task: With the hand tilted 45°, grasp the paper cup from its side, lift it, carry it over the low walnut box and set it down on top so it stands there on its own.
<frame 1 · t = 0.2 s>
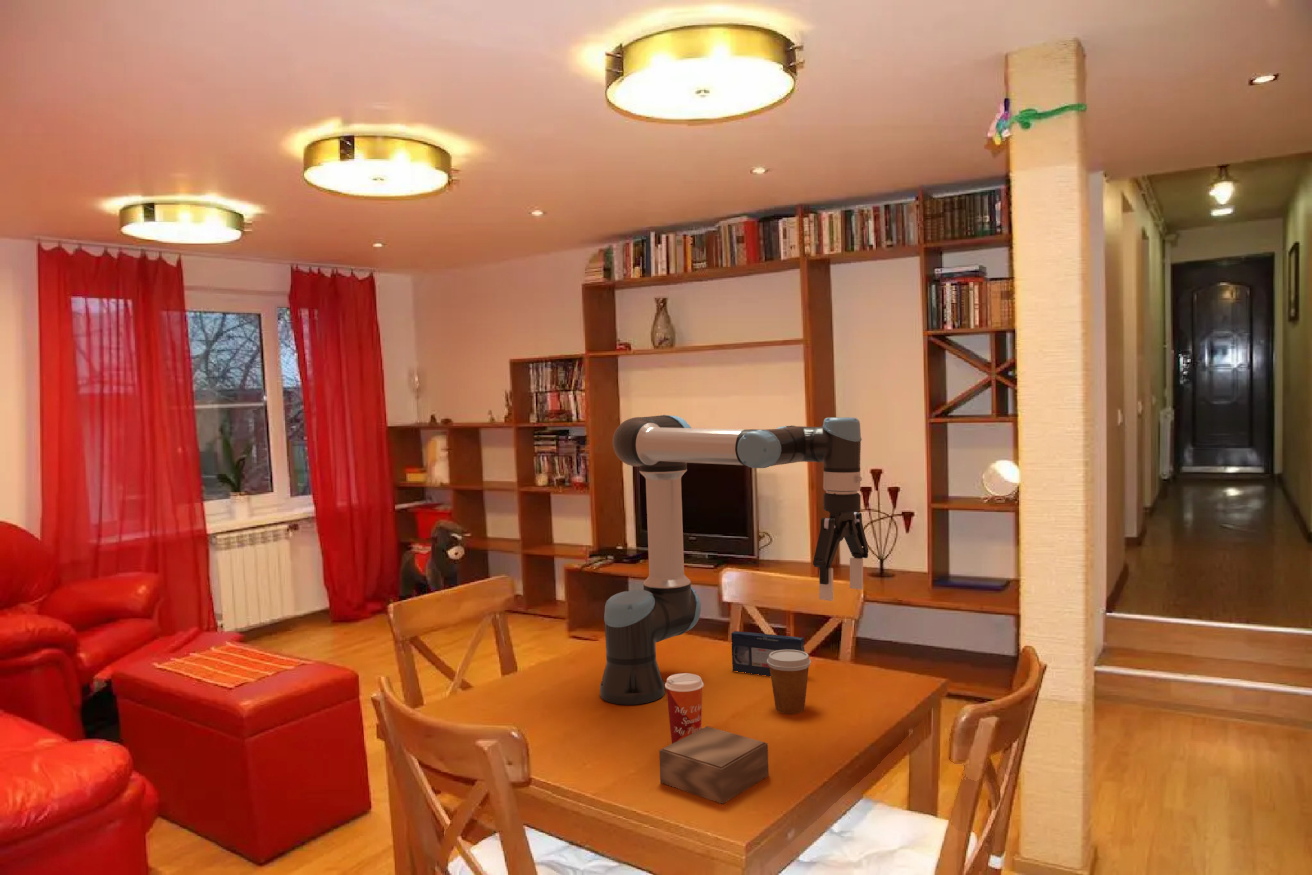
hand: (841, 594, 185), 27 cm above the table, tool pointing down, fingers open, 13 cm apart
vhs cassette tape: (768, 675, 219), on the table
walnut box: (714, 779, 162), on the table
paper cup: (686, 748, 176), on the table
disposable coffee cup: (790, 709, 195), on the table
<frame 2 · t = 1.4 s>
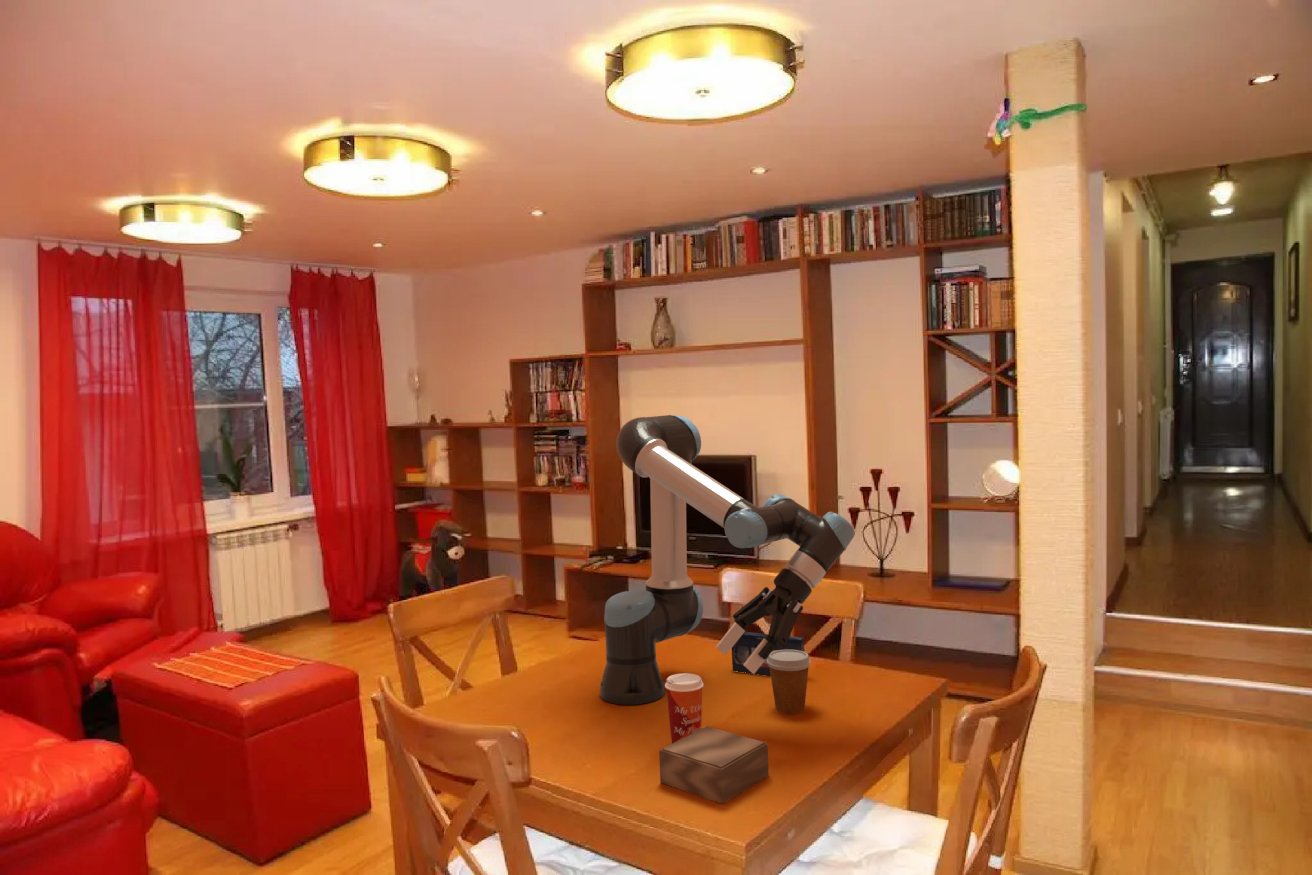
hand: (733, 660, 179), 16 cm above the table, tool tilted 45°, fingers open, 13 cm apart
nothing on the table moved.
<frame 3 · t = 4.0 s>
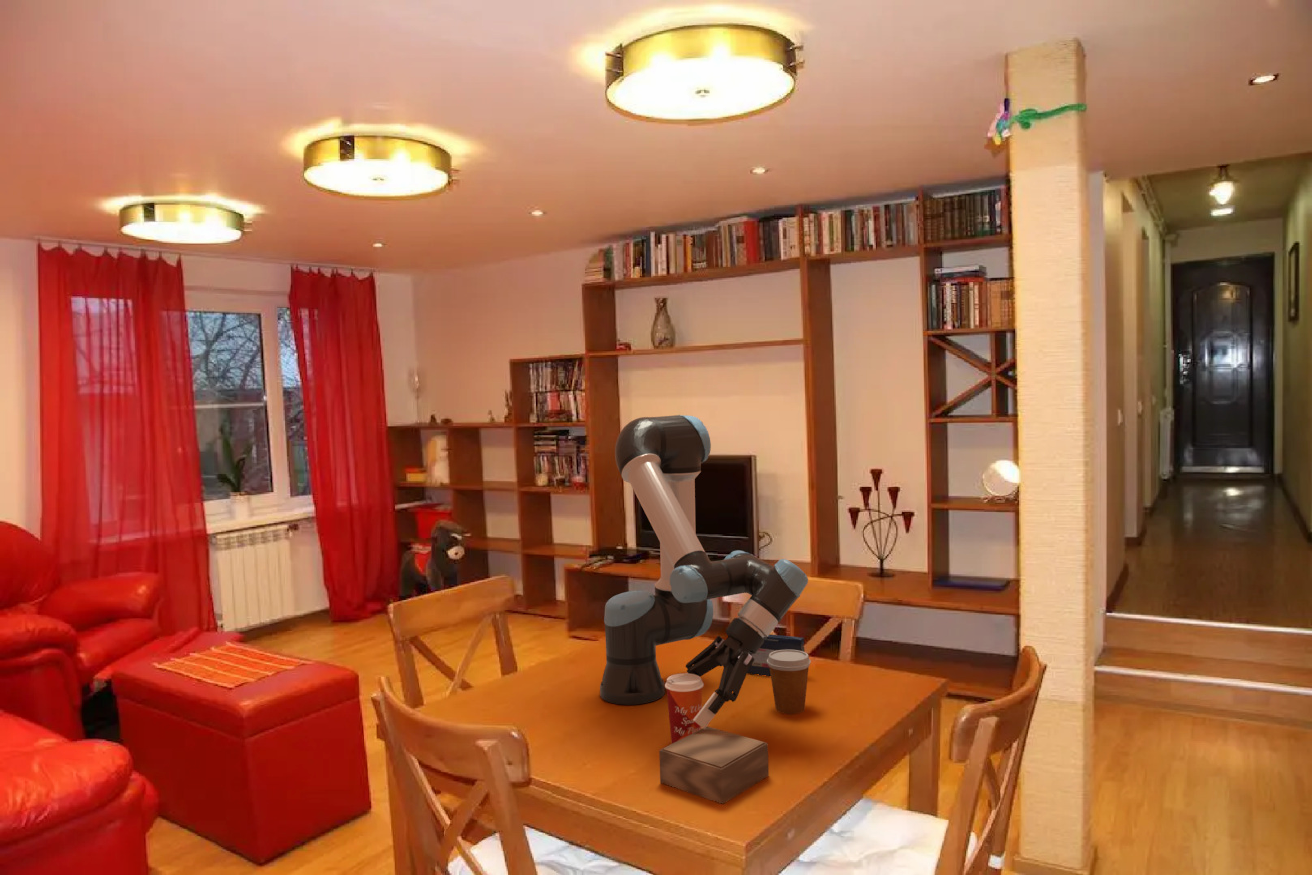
hand: (684, 713, 175), 7 cm above the table, tool tilted 45°, fingers open, 13 cm apart
nothing on the table moved.
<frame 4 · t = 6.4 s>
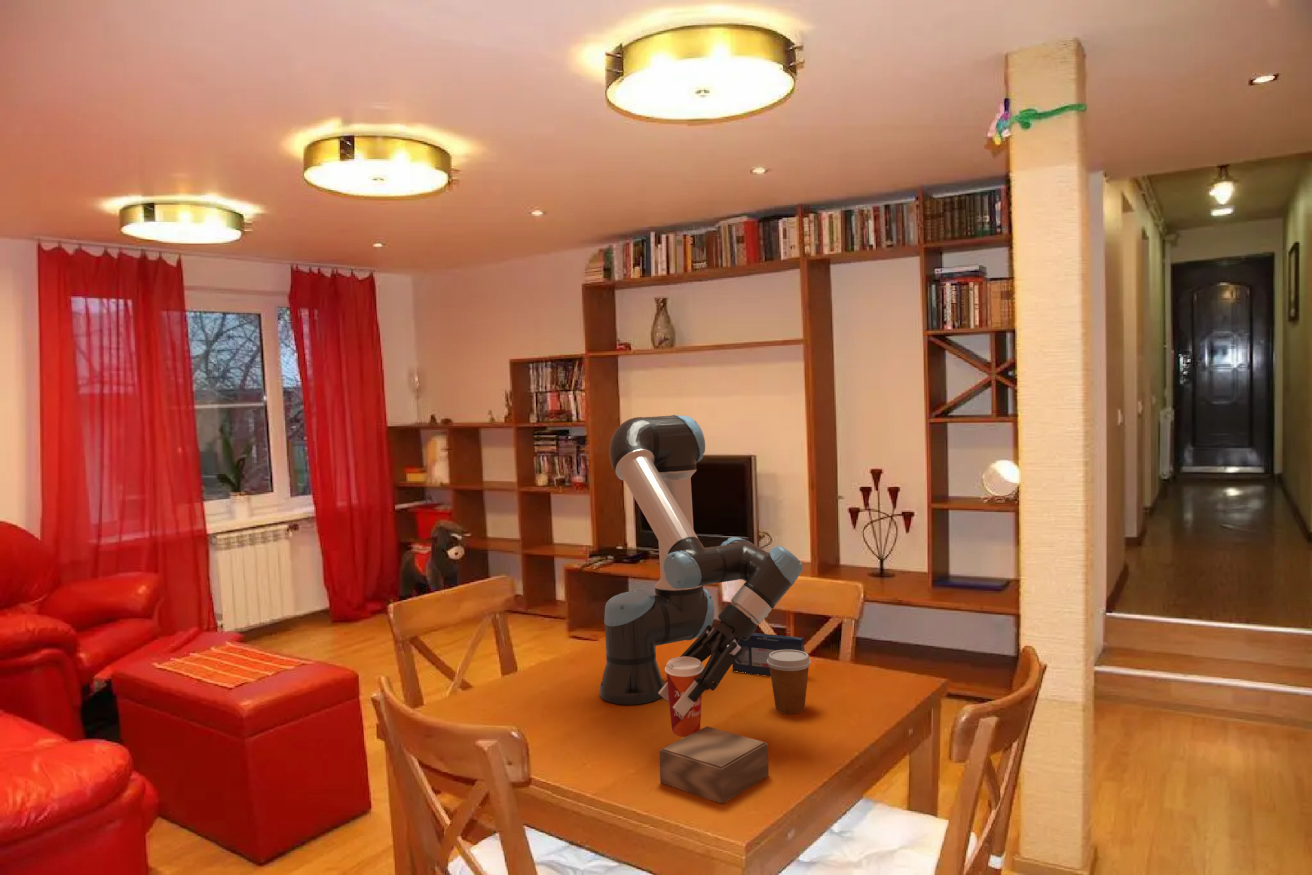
hand: (670, 704, 174), 9 cm above the table, tool tilted 45°, fingers closed on paper cup, 8 cm apart
paper cup: (686, 731, 176), point 3 cm above the table, touching gripper
everything else where it was.
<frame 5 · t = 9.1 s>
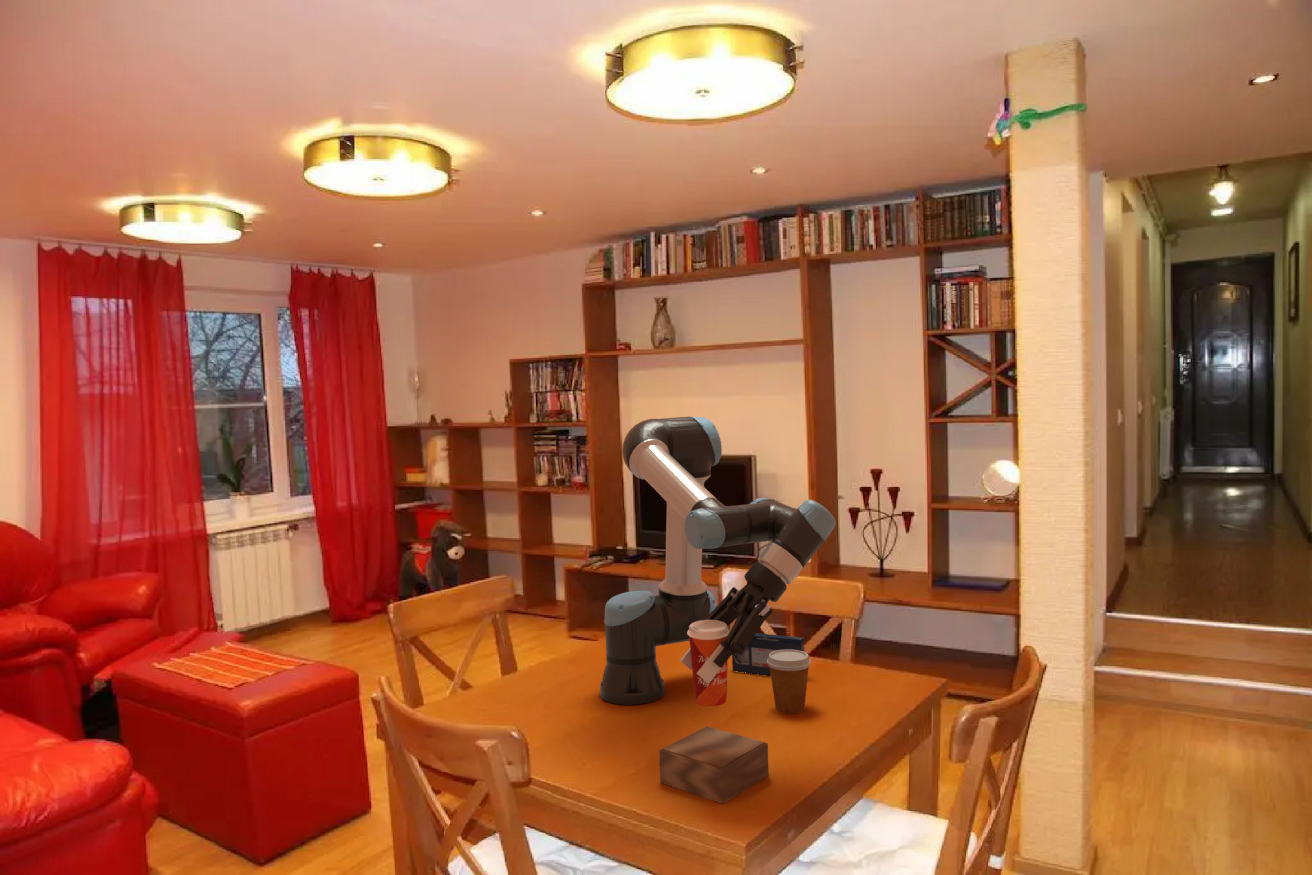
hand: (693, 671, 159), 20 cm above the table, tool tilted 45°, fingers closed on paper cup, 8 cm apart
paper cup: (711, 701, 161), point 14 cm above the table, touching gripper
everything else where it was.
when the fingers open (12 cm above the table, at t = 12.3 s): paper cup stays where it is, resting on walnut box.
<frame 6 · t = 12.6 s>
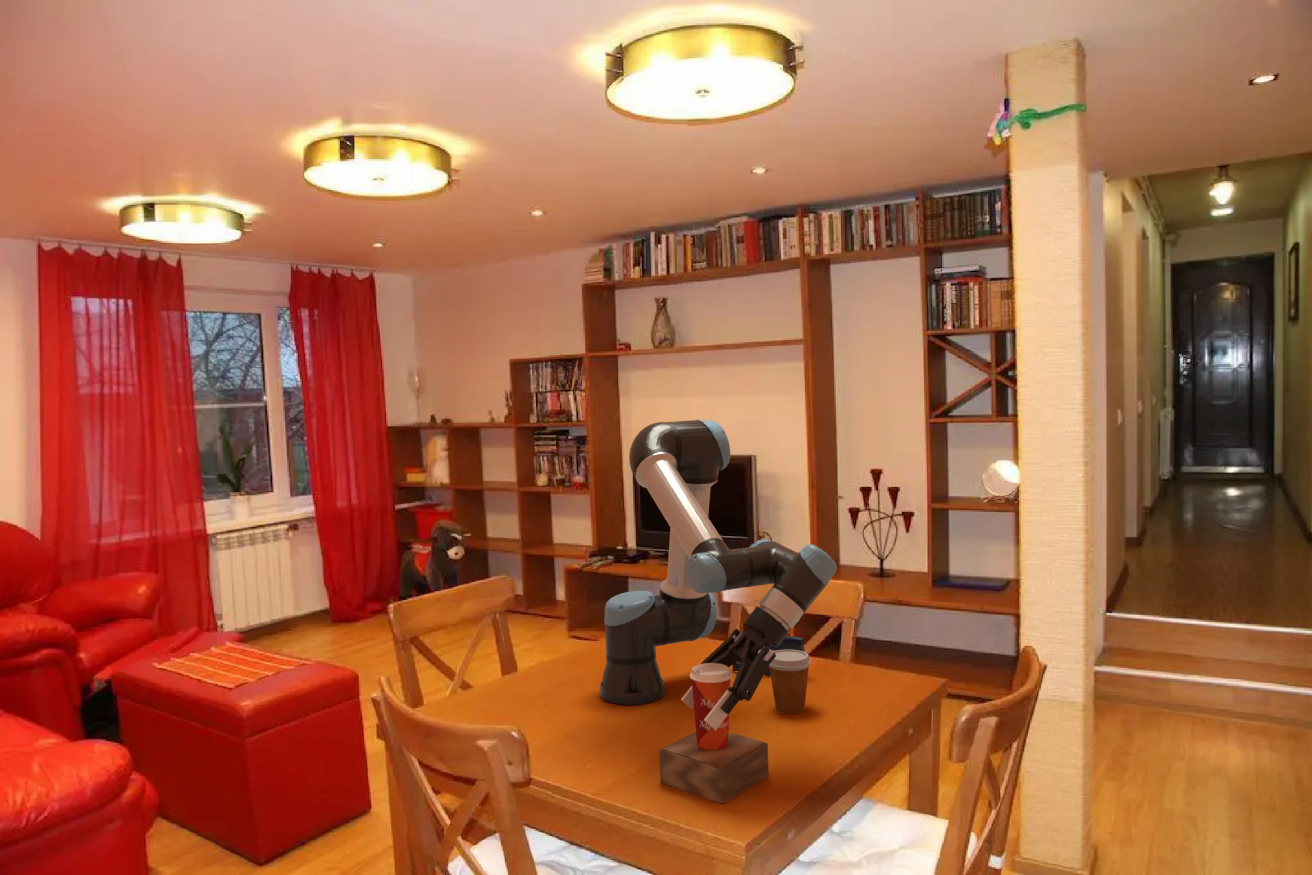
hand: (697, 714, 160), 12 cm above the table, tool tilted 45°, fingers open, 10 cm apart
paper cup: (712, 745, 162), point 6 cm above the table, touching walnut box
everything else where it was.
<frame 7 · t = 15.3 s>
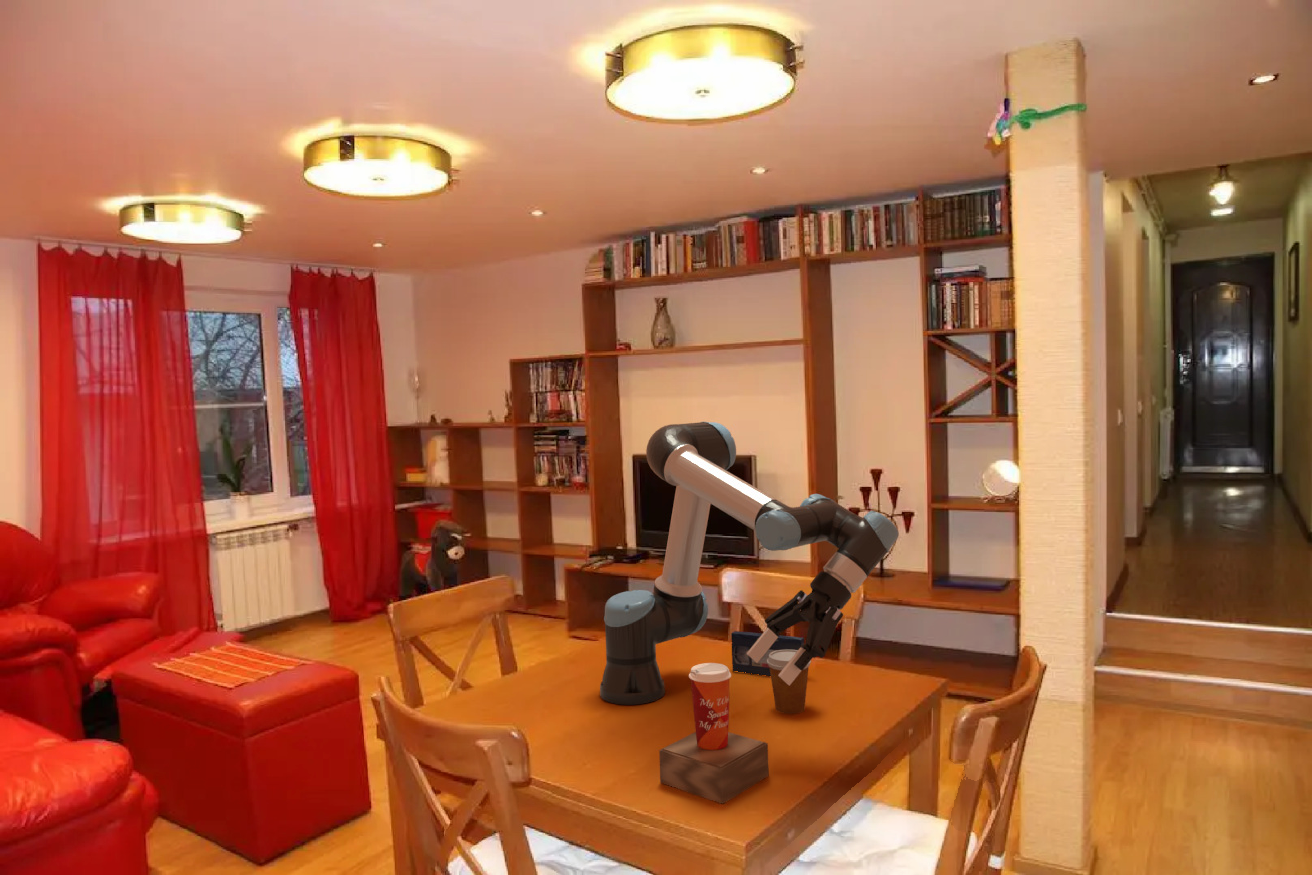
hand: (766, 669, 166), 18 cm above the table, tool tilted 45°, fingers open, 13 cm apart
nothing on the table moved.
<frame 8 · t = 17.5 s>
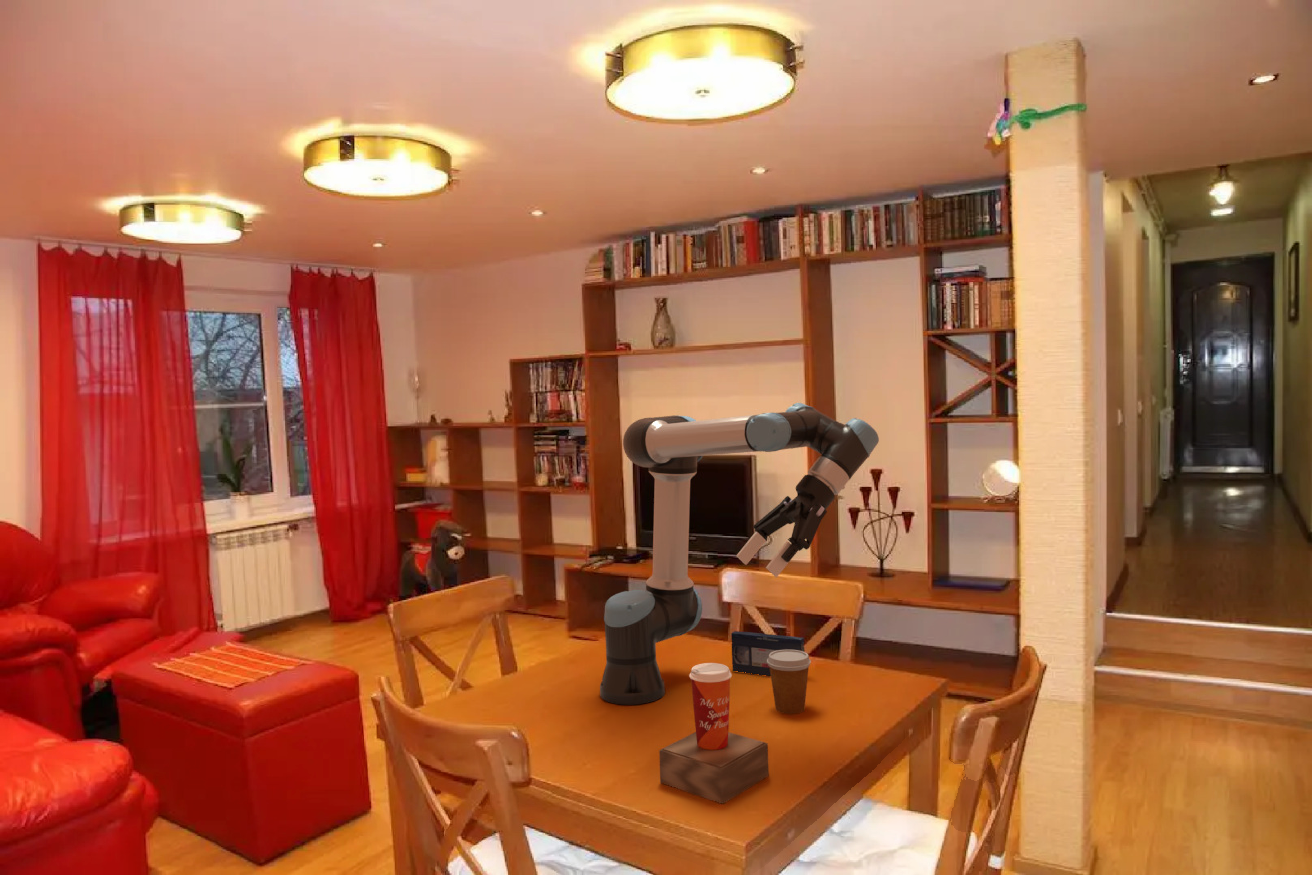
hand: (755, 566, 175), 36 cm above the table, tool tilted 45°, fingers open, 13 cm apart
nothing on the table moved.
at the end: paper cup inside the target area on the walnut box (0.5 cm from its centre), point 6.1 cm above the walnut box's base; paper cup tilted 0°; paper cup touching walnut box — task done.
